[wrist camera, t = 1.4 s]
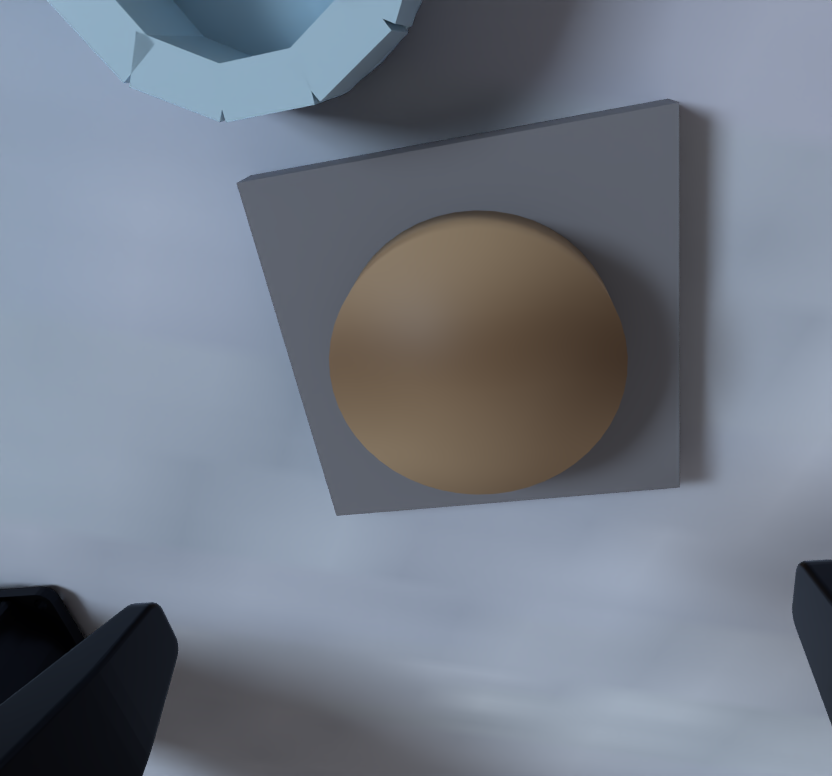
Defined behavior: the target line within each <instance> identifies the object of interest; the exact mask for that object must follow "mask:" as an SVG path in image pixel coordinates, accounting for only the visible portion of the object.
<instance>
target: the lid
mask: <svg viewBox="0 0 832 776" xmlns="http://www.w3.org/2000/svg"><path fill="white" fill-rule="evenodd" d="M627 366H628V354H627V346H626V338H625V334H624V331H623V327H622V324H621V320H620V318H619V316H618V314H617V311H616V309H615V307H614V305H613V302H612V300H611V298H610V296H609V294H608V292H607V290H606V287H605V285H604V283H603V281H602V279H601V278H600V276H599V275H598V273H597V271H596V270H595V268H594V267H593V265H592V264H591V263H590V262H589V260H588V259H587V258H586V257H585V256H584V255H583V254H582V252H581V251H580V250H579V249H577V248H576V247H575V246H574V245H573V244H572V243H570V242H569V241H568V240H567V239H566V238H564V237H563V236H561V235H560V234H558V233H556V232H555V231H553V230H552V229H550V228H548V227H546V226H544V225H542V224H540V223H537V222H535V221H533V220H530V219H527V218H524V217H521V216H517V215H514V214H509V213H503V212H497V211H479V210H473V211H463V212H454V213H449V214H445V215H441V216H437V217H434V218H431V219H428V220H426V221H423V222H420V223H418V224H416V225H414V226H412V227H410V228H409V229H407V230H405V231H403V232H401V233H400V234H398V235H397V236H396V237H394V238H393V239H392V240H390V241H389V242H387V243H386V244H385V245H384V246H383V247H382V248H381V249H380V250H379V251H378V252H377V253H376V254H375V255H374V256H373V257H372V258H371V260H370V261H369V262H368V263H367V265H366V266H365V267H364V269H363V270H362V272H361V273H360V275H359V277H358V279H357V280H356V282H355V284H354V285H353V287H352V289H351V291H350V293H349V294H348V296H347V298H346V300H345V301H344V303H343V305H342V307H341V309H340V311H339V314H338V316H337V319H336V321H335V324H334V328H333V332H332V337H331V341H330V352H329V368H330V378H331V383H332V388H333V393H334V395H335V398H336V401H337V404H338V407H339V409H340V411H341V413H342V415H343V417H344V419H345V421H346V423H347V424H348V426H349V427H350V429H351V430H352V432H353V433H354V435H355V436H356V437H357V439H358V440H359V441H360V442H361V443H362V444H363V445H364V447H365V448H366V449H367V450H368V451H369V452H370V453H372V454H373V455H374V456H375V457H376V458H377V459H378V460H379V461H381V462H382V463H384V464H385V465H386V466H388V467H389V468H391V469H392V470H394V471H395V472H397V473H399V474H401V475H403V476H405V477H406V478H408V479H410V480H413V481H415V482H418V483H420V484H423V485H425V486H429V487H432V488H435V489H439V490H443V491H448V492H454V493H461V494H475V495H480V494H498V493H505V492H512V491H516V490H519V489H523V488H527V487H530V486H533V485H536V484H538V483H541V482H544V481H546V480H548V479H550V478H552V477H554V476H556V475H558V474H560V473H562V472H563V471H565V470H566V469H568V468H569V467H571V466H572V465H574V464H575V463H576V462H577V461H579V460H580V459H581V458H582V457H583V456H584V455H586V454H587V453H588V452H589V451H590V450H591V449H592V448H593V447H594V445H595V444H596V443H597V442H598V441H599V440H600V439H601V437H602V436H603V434H604V433H605V432H606V430H607V429H608V427H609V426H610V424H611V422H612V420H613V418H614V416H615V414H616V412H617V410H618V408H619V405H620V402H621V399H622V397H623V394H624V389H625V384H626V378H627Z"/></svg>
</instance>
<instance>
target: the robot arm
mask: <svg viewBox="0 0 832 776" xmlns="http://www.w3.org/2000/svg"><path fill="white" fill-rule="evenodd" d="M792 613H793V619H794V623H795V627H796V630H797V632H798V635H799V638H800V640H801V643H802V646H803V649H804V651H805V654H806V657H807V659H808V662H809V665H810V668H811V670H812V673H813V676H814V678H815V681H816V684H817V687H818V689H819V692H820V695H821V697H822V700H823V703H824V706H825V708H826V711H827V714H828V716H829V719H830V722H831V725H832V560H813V561H803V562H801V563H799V564H798V566H797V569H796V576H795V585H794V595H793V604H792ZM177 655H178V642H177V638H176V636H175V634H174V632H173V630H172V628H171V626H170V624H169V622H168V620H167V618H166V616H165V614H164V612H163V610H162V608H161V606H159V605H158V604H157V603H153V602H151V603H135V604H131V605H129V606H127V607H126V608H124V609H123V610H122V611H120V612H119V613H118V614H117V615H115V616H114V617H113V618H111V619H110V620H109V621H108V622H106V623H105V624H104V625H102V626H101V627H100V628H99V629H97V630H96V631H95V632H93V633H92V634H91V635H89V636H88V637H87V638H86V639H84V638H83V636H82V634H81V633H80V631H79V629H78V628H77V626H76V624H75V622H74V621H73V619H72V617H71V616H70V614H69V612H68V610H67V609H66V607H65V605H64V604H63V602H62V600H61V598H60V597H59V595H58V594H57V593H56V592H55V591H53V590H52V589H50V588H47V587H31V588H17V589H2V590H0V776H142V775H143V773H144V770H145V767H146V764H147V761H148V758H149V755H150V752H151V749H152V746H153V742H154V739H155V736H156V732H157V728H158V725H159V721H160V717H161V714H162V710H163V707H164V703H165V699H166V696H167V692H168V688H169V685H170V681H171V678H172V674H173V670H174V667H175V663H176V660H177Z"/></svg>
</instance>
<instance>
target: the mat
mask: <svg viewBox="0 0 832 776" xmlns="http://www.w3.org/2000/svg"><path fill="white" fill-rule="evenodd" d="M237 186H238V189H239V192H240V196H241V199H242V202H243V206H244V209H245V212H246V216H247V219H248V222H249V226H250V229H251V232H252V236H253V239H254V242H255V246H256V249H257V252H258V256H259V259H260V262H261V266H262V269H263V272H264V276H265V279H266V282H267V286H268V289H269V292H270V296H271V299H272V302H273V306H274V309H275V312H276V316H277V319H278V322H279V326H280V329H281V332H282V336H283V339H284V342H285V346H286V349H287V352H288V356H289V359H290V362H291V366H292V369H293V372H294V376H295V379H296V382H297V386H298V389H299V392H300V396H301V399H302V402H303V405H304V409H305V412H306V415H307V419H308V422H309V425H310V429H311V432H312V435H313V439H314V442H315V445H316V449H317V452H318V455H319V459H320V462H321V465H322V469H323V472H324V475H325V479H326V482H327V485H328V489H329V492H330V495H331V499H332V502H333V505H334V509H335V512H336V515H337V516H339V515H351V514H363V513H375V512H387V511H399V510H412V509H424V508H436V507H448V506H460V505H472V504H484V503H496V502H508V501H520V500H532V499H545V498H557V497H569V496H581V495H593V494H605V493H617V492H629V491H641V490H653V489H666V488H678V487H680V377H679V102H676V101H673V100H670V99H665V100H659V101H654V102H648V103H643V104H637V105H632V106H626V107H621V108H616V109H610V110H605V111H599V112H594V113H588V114H583V115H577V116H572V117H567V118H561V119H556V120H550V121H545V122H539V123H534V124H528V125H523V126H518V127H512V128H507V129H501V130H496V131H490V132H485V133H480V134H474V135H469V136H463V137H458V138H452V139H447V140H441V141H436V142H431V143H425V144H420V145H414V146H409V147H403V148H398V149H392V150H387V151H382V152H376V153H371V154H365V155H360V156H354V157H349V158H343V159H338V160H333V161H327V162H322V163H316V164H311V165H305V166H300V167H295V168H289V169H284V170H278V171H273V172H267V173H262V174H256V175H251V176H249V177H247V178H245V179H243V180H242V181H240V182H238V183H237ZM473 210H479V211H497V212H503V213H509V214H514V215H517V216H521V217H524V218H527V219H530V220H533V221H535V222H537V223H540V224H542V225H544V226H546V227H548V228H550V229H552V230H553V231H555V232H556V233H558V234H560V235H561V236H563V237H564V238H566V239H567V240H568V241H569V242H570V243H572V244H573V245H574V246H575V247H576V248H577V249H579V250H580V251H581V252H582V254H583V255H584V256H585V257H586V258H587V259H588V260H589V262H590V263H591V264H592V265H593V267H594V268H595V270H596V271H597V273H598V275H599V276H600V278H601V279H602V281H603V283H604V285H605V287H606V290H607V292H608V294H609V296H610V298H611V300H612V302H613V305H614V307H615V309H616V311H617V314H618V316H619V318H620V320H621V324H622V327H623V331H624V334H625V338H626V346H627V354H628V366H627V378H626V384H625V389H624V394H623V397H622V399H621V402H620V405H619V408H618V410H617V412H616V414H615V416H614V418H613V420H612V422H611V424H610V426H609V427H608V429H607V430H606V432H605V433H604V434H603V436H602V437H601V439H600V440H599V441H598V442H597V443H596V444H595V445H594V447H593V448H592V449H591V450H590V451H589V452H588V453H587V454H586V455H584V456H583V457H582V458H581V459H580V460H579V461H577V462H576V463H575V464H574V465H572V466H571V467H569V468H568V469H566V470H565V471H563V472H562V473H560V474H558V475H556V476H554V477H552V478H550V479H548V480H546V481H544V482H541V483H538V484H536V485H533V486H530V487H527V488H523V489H519V490H516V491H512V492H505V493H498V494H480V495H475V494H461V493H454V492H448V491H443V490H439V489H435V488H432V487H429V486H425V485H423V484H420V483H418V482H415V481H413V480H410V479H408V478H406V477H405V476H403V475H401V474H399V473H397V472H395V471H394V470H392V469H391V468H389V467H388V466H386V465H385V464H384V463H382V462H381V461H379V460H378V459H377V458H376V457H375V456H374V455H373V454H372V453H370V452H369V451H368V450H367V449H366V448H365V447H364V445H363V444H362V443H361V442H360V441H359V440H358V439H357V437H356V436H355V435H354V433H353V432H352V430H351V429H350V427H349V426H348V424H347V423H346V421H345V419H344V417H343V415H342V413H341V411H340V409H339V407H338V404H337V401H336V398H335V395H334V393H333V388H332V383H331V378H330V368H329V352H330V341H331V337H332V332H333V328H334V324H335V321H336V319H337V316H338V314H339V311H340V309H341V307H342V305H343V303H344V301H345V300H346V298H347V296H348V294H349V293H350V291H351V289H352V287H353V285H354V284H355V282H356V280H357V279H358V277H359V275H360V273H361V272H362V270H363V269H364V267H365V266H366V265H367V263H368V262H369V261H370V260H371V258H372V257H373V256H374V255H375V254H376V253H377V252H378V251H379V250H380V249H381V248H382V247H383V246H384V245H385V244H386V243H387V242H389V241H390V240H392V239H393V238H394V237H396V236H397V235H398V234H400V233H401V232H403V231H405V230H407V229H409V228H410V227H412V226H414V225H416V224H418V223H420V222H423V221H426V220H428V219H431V218H434V217H437V216H441V215H445V214H449V213H454V212H463V211H473Z"/></svg>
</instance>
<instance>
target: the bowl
mask: <svg viewBox="0 0 832 776" xmlns="http://www.w3.org/2000/svg"><path fill="white" fill-rule="evenodd" d="M47 1H48V2H49V3H50V5H51V6H52V7H53V8H54V9H55V10H56V11H57V12H58V13H59V14H60V15H61V16H62V17H63V19H64V20H65V21H66V22H67V23H68V24H69V25H70V26H71V27H72V28H73V29H74V30H75V31H76V33H77V34H78V35H79V36H80V37H81V38H82V39H83V40H84V41H85V42H86V43H87V44H88V46H89V47H90V48H91V49H92V50H93V51H94V52H95V53H96V54H97V55H98V56H99V57H100V58H101V60H102V61H103V62H104V63H105V64H106V65H107V66H108V67H109V68H110V69H111V70H112V71H113V72H114V74H115V75H116V76H117V77H118V78H119V79H120V80H121V81H122V82H123V83H130V86H129V87H130V88H132V89H135V90H138V91H140V92H143V93H146V94H148V95H151V96H153V97H156V98H159V99H161V100H164V101H166V102H169V103H172V104H174V105H177V106H179V107H182V108H185V109H187V110H190V111H192V112H195V113H198V114H200V115H203V116H205V117H208V118H211V119H213V120H216V121H218V122H221V121H226V122H231V121H236V120H241V119H246V118H251V117H256V116H261V115H266V114H271V113H276V112H281V111H286V110H291V109H296V108H301V107H306V106H311V105H315V104H318V103H321V102H324V101H327V100H330V99H333V98H335V97H338V96H341V95H343V94H344V93H347V92H349V91H350V90H351V89H352V88H353V87H354V86H355V85H356V84H357V83H358V82H359V81H360V80H361V79H362V78H364V77H365V76H367V75H368V74H369V73H370V72H371V71H373V70H374V69H375V68H376V67H377V66H378V65H380V64H381V63H382V62H383V61H384V60H385V59H386V57H387V56H388V55H389V54H390V53H391V52H392V51H393V50H394V48H395V47H396V46H397V45H398V43H399V42H400V41H401V40H402V39H403V38H404V37H405V36H406V35H407V34H408V33H409V32H408V31H407V30H408V29H409V27H412V25H413V22H414V18H415V15H416V13H417V11H418V9H419V7H420V5H421V3H422V0H47Z"/></svg>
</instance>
